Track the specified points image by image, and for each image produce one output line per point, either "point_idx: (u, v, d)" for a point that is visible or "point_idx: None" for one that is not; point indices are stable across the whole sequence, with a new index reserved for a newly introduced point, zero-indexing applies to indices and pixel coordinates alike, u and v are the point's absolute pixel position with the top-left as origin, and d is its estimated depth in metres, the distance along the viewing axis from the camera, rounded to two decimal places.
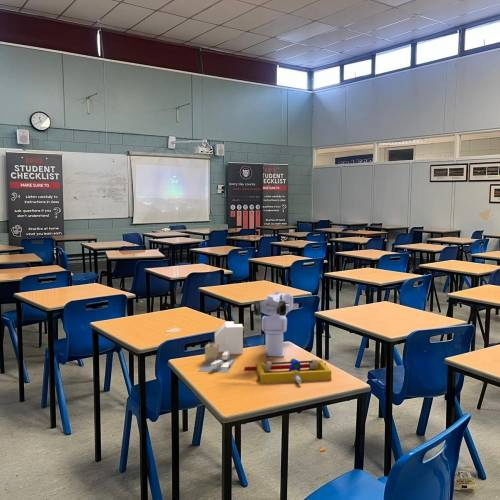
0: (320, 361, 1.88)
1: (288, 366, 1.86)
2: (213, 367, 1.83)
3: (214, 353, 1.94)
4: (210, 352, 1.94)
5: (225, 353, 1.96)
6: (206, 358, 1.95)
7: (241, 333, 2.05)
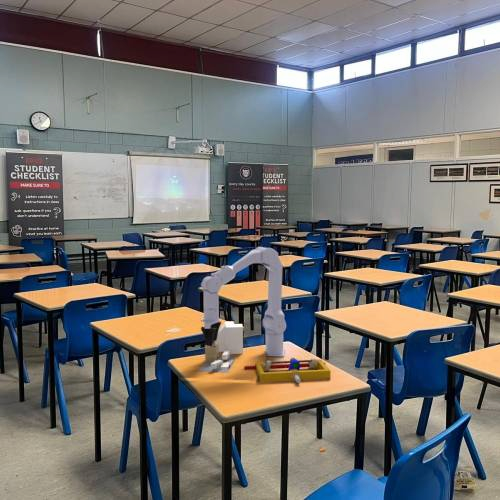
0: (320, 360, 1.88)
1: (288, 365, 1.87)
2: (213, 367, 1.83)
3: (214, 353, 1.94)
4: (210, 352, 1.94)
5: (225, 353, 1.96)
6: (206, 358, 1.95)
7: (241, 333, 2.05)
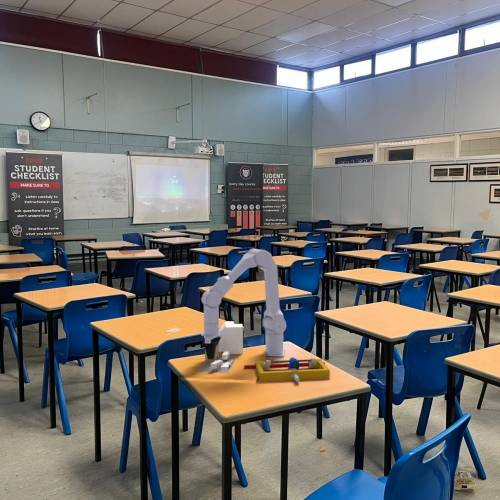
0: (319, 360, 1.89)
1: (287, 365, 1.88)
2: (213, 367, 1.83)
3: (214, 353, 1.94)
4: None
5: (225, 353, 1.96)
6: (206, 358, 1.95)
7: (241, 333, 2.05)
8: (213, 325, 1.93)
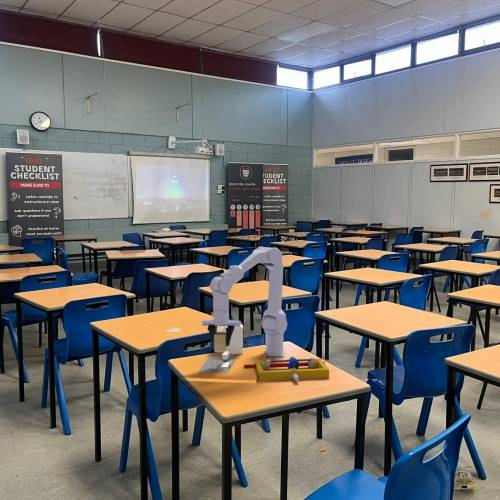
0: (319, 359, 1.90)
1: (287, 364, 1.89)
2: (213, 367, 1.83)
3: None
4: None
5: (225, 353, 1.96)
6: (226, 346, 1.89)
7: (241, 333, 2.05)
8: None
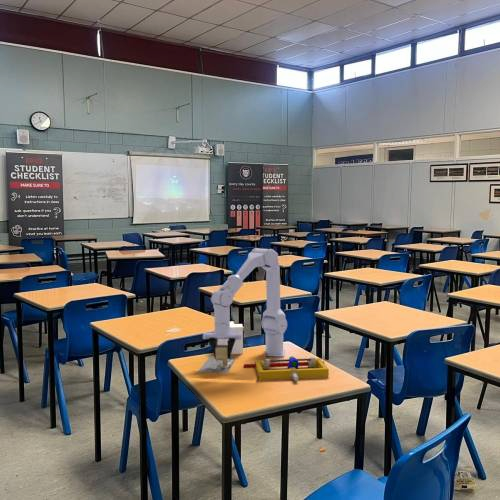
0: (319, 359, 1.90)
1: (287, 364, 1.89)
2: (213, 367, 1.83)
3: None
4: None
5: None
6: (227, 359, 1.89)
7: (241, 333, 2.05)
8: None
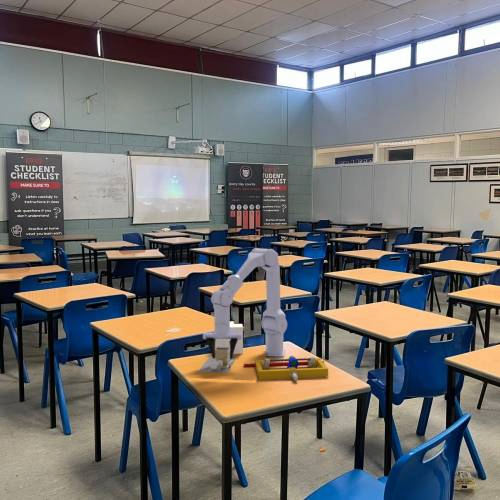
0: (318, 359, 1.90)
1: (287, 363, 1.90)
2: (213, 367, 1.83)
3: (229, 354, 1.92)
4: (228, 354, 1.90)
5: None
6: (227, 362, 1.89)
7: (241, 333, 2.05)
8: None
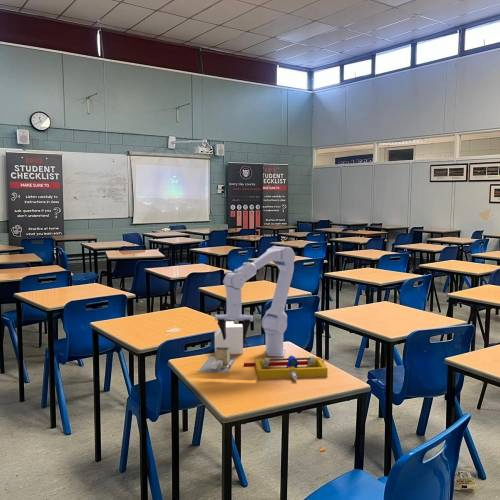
0: (318, 358, 1.91)
1: (286, 363, 1.90)
2: (213, 367, 1.83)
3: (229, 354, 1.92)
4: (228, 354, 1.90)
5: None
6: (227, 362, 1.89)
7: (241, 333, 2.05)
8: None
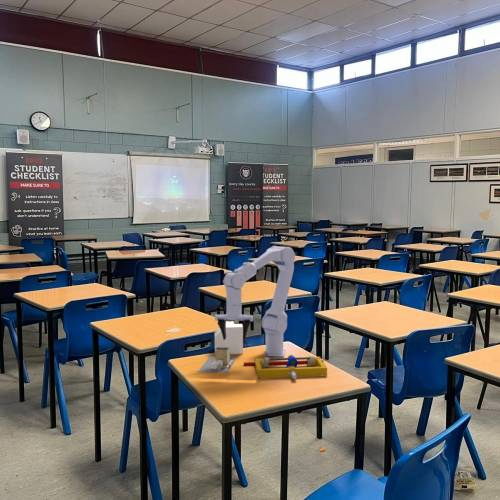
0: (318, 358, 1.92)
1: (286, 362, 1.91)
2: (213, 367, 1.83)
3: (229, 354, 1.92)
4: (228, 354, 1.90)
5: None
6: (227, 362, 1.89)
7: (241, 333, 2.05)
8: None
